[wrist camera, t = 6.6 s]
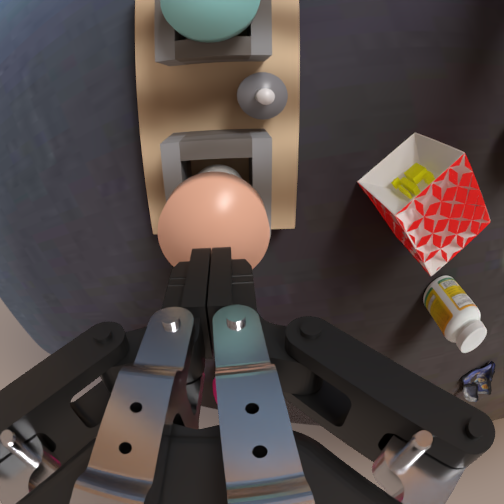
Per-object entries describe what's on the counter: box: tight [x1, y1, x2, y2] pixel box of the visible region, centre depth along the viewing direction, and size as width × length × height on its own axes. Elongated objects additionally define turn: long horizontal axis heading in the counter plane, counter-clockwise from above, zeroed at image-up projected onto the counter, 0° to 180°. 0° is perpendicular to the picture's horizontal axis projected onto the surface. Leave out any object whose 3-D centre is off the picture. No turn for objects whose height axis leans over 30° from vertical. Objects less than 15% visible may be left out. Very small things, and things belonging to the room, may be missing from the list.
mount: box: [135, 0, 300, 238], centre depth 20 cm, size 22×12×8 cm, turn 1°
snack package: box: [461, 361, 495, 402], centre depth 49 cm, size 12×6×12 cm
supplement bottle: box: [423, 276, 487, 353], centre depth 31 cm, size 5×5×10 cm
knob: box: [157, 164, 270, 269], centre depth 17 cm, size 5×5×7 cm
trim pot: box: [237, 72, 288, 120], centre depth 18 cm, size 3×3×5 cm
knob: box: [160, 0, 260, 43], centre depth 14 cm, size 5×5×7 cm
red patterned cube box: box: [357, 133, 491, 276], centre depth 25 cm, size 8×8×8 cm
